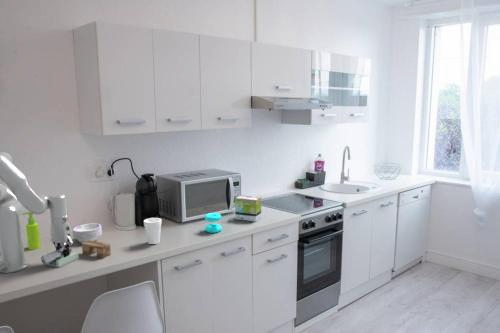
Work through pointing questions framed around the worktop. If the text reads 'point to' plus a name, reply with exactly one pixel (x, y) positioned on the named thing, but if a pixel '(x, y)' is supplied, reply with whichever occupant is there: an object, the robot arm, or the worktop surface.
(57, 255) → the axle
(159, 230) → the foam cup
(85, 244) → the brown wooden block
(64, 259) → the cradle
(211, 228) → the donuts
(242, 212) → the tea box
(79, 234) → the paper bowls
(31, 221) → the soap dispenser
